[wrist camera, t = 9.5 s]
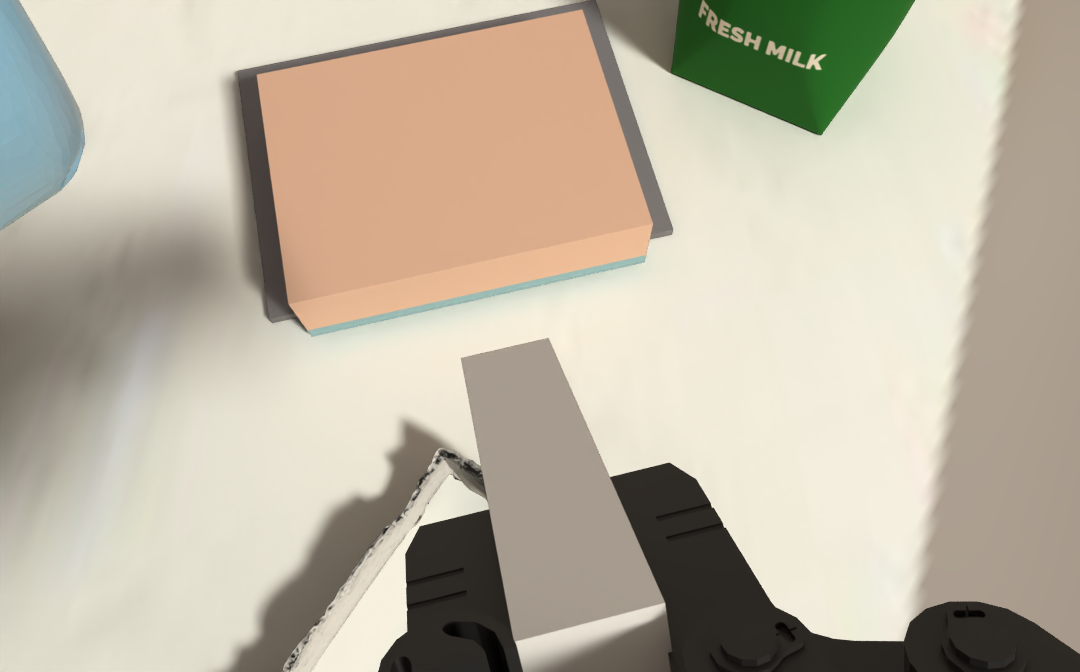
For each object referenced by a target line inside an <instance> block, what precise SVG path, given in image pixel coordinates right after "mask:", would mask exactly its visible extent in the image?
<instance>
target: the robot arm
mask: <svg viewBox="0 0 1080 672" xmlns="http://www.w3.org/2000/svg"><path fill="white" fill-rule="evenodd" d="M84 145H85V136H84V127H83V120H82V116H81V112H80V110H79V107H78V105H77V103H76V101H75V99H74V97H73V95H72V93H71V91H70V89H69V87H68V85H67V83H66V81H65V79H64V77H63V76H62V74H61V72H60V70H59V68H58V67H57V65H56V63H55V61H54V60H53V58H52V56H51V54H50V53H49V51H48V49H47V47H46V46H45V44H44V42H43V41H42V39H41V37H40V35H39V34H38V32H37V30H36V28H35V27H34V25H33V23H32V22H31V20H30V18H29V17H28V15H27V13H26V12H25V10H24V8H23V6H22V5H21V3H20V1H19V0H0V231H1V230H2V229H4V228H5V227H7V226H8V225H10V224H11V223H13V222H14V221H16V220H17V219H19V218H20V217H22V216H23V215H25V214H26V213H28V212H29V211H31V210H32V209H34V208H35V207H37V206H39V205H40V204H42V203H43V202H45V201H46V200H48V199H49V198H51V197H52V196H54V195H55V194H57V193H58V192H59V191H60V190H62V188H63V187H64V186H65V185H66V184H67V183H68V182H69V181H70V180H71V179H72V177H73V176H74V174H75V173H76V171H77V168H78V165H79V162H80V158H81V155H82V152H83V149H84ZM461 361H462V366H463V372H464V377H465V382H466V388H467V393H468V398H469V404H470V409H471V414H472V420H473V425H474V431H475V436H476V441H477V447H478V452H479V457H480V463H481V468H482V473H483V479H484V484H485V489H486V495H487V500H488V505H489V510H485V511H481V512H477V513H473V514H469V515H464V516H460V517H456V518H452V519H448V520H444V521H440V522H436V523H432V524H428V525H424V526H420V527H419V529H418V531H417V533H416V535H415V537H414V539H413V541H412V542H411V544H410V546H409V548H408V550H407V552H406V554H405V558H406V583H407V587H406V595H407V608H408V611H407V632H406V633H405V634H404V635H402V636H401V637H400V638H398V639H397V640H396V641H395V642H394V644H393V645H392V646H391V648H390V649H389V651H388V652H387V653H386V655H385V656H384V657H383V659H382V660H381V663H380V667H379V671H378V672H1080V654H1079V653H1077V652H1076V651H1074V650H1073V649H1071V648H1070V647H1068V646H1067V645H1065V644H1064V643H1062V642H1061V641H1060V640H1058V639H1057V638H1055V637H1054V636H1053V635H1051V634H1050V633H1048V632H1047V631H1045V630H1044V629H1042V628H1041V627H1040V626H1038V625H1037V624H1035V623H1034V622H1032V621H1029V620H1028V619H1026V618H1024V617H1022V616H1020V615H1018V614H1016V613H1014V612H1012V611H1010V610H1008V609H1005V608H1002V607H998V606H993V605H989V604H985V603H981V602H947V603H944V604H940V605H937V606H934V607H930V608H927V609H925V610H924V611H923V612H922V613H920V614H919V615H918V616H917V617H916V618H914V619H913V620H912V621H911V622H910V624H909V627H908V630H907V633H906V636H905V639H904V641H850V640H840V639H832V638H829V637H825V636H821V635H818V634H814V633H812V632H810V631H809V630H808V629H807V628H806V627H805V626H804V625H803V624H802V623H801V622H800V621H799V620H798V618H796V617H794V616H792V615H790V614H788V613H786V612H784V611H782V610H780V609H778V608H776V607H775V606H774V605H773V604H772V602H771V601H770V599H769V598H768V596H767V595H766V593H765V591H764V590H763V588H762V586H761V585H760V583H759V581H758V580H757V578H756V577H755V575H754V573H753V572H752V570H751V568H750V567H749V565H748V563H747V562H746V560H745V559H744V557H743V555H742V554H741V552H740V550H739V549H738V547H737V545H736V544H735V542H734V541H733V539H732V537H731V536H730V534H729V532H728V531H727V529H726V528H724V526H723V523H722V521H721V519H720V518H719V516H718V514H717V513H716V511H715V509H714V508H712V507H711V503H710V501H709V500H708V498H707V496H706V495H705V493H704V491H703V490H702V488H701V487H700V485H699V483H698V482H697V480H696V479H695V478H693V477H691V476H690V475H688V474H687V473H685V472H684V471H682V470H680V469H679V468H677V467H676V466H674V465H672V464H671V463H666V464H662V465H658V466H654V467H650V468H646V469H641V470H637V471H633V472H629V473H625V474H621V475H617V476H613V477H609V474H608V472H607V470H606V468H605V465H604V463H603V461H602V458H601V456H600V454H599V452H598V449H597V447H596V445H595V443H594V440H593V438H592V436H591V433H590V431H589V429H588V427H587V424H586V422H585V420H584V418H583V415H582V413H581V411H580V409H579V406H578V404H577V402H576V399H575V397H574V395H573V393H572V390H571V388H570V386H569V384H568V381H567V379H566V377H565V374H564V372H563V370H562V368H561V365H560V363H559V361H558V359H557V356H556V354H555V352H554V349H553V347H552V345H551V343H550V340H549V338H546V339H542V340H538V341H533V342H529V343H525V344H520V345H516V346H511V347H507V348H503V349H498V350H494V351H490V352H485V353H481V354H477V355H472V356H468V357H464V358H461Z"/></svg>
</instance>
